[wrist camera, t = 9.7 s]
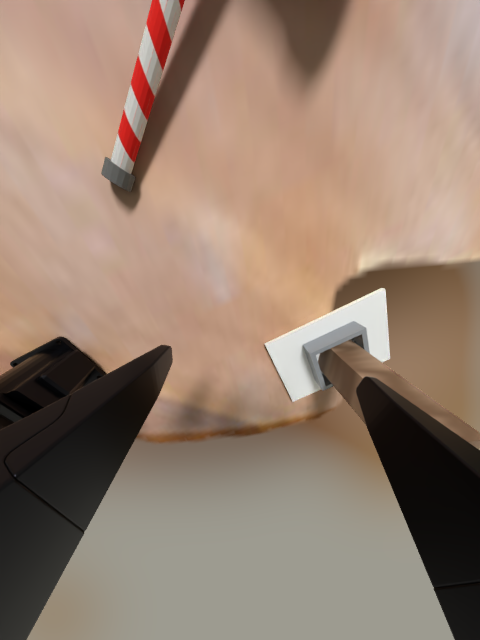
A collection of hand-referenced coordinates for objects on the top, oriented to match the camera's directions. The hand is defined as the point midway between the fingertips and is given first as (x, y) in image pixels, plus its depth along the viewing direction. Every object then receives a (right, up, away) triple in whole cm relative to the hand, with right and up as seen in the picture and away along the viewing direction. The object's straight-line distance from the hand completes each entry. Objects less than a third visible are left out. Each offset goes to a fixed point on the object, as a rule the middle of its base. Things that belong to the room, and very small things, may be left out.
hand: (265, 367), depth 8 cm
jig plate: (+12, -2, +16) cm, 20 cm away
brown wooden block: (+12, -2, +16) cm, 20 cm away
